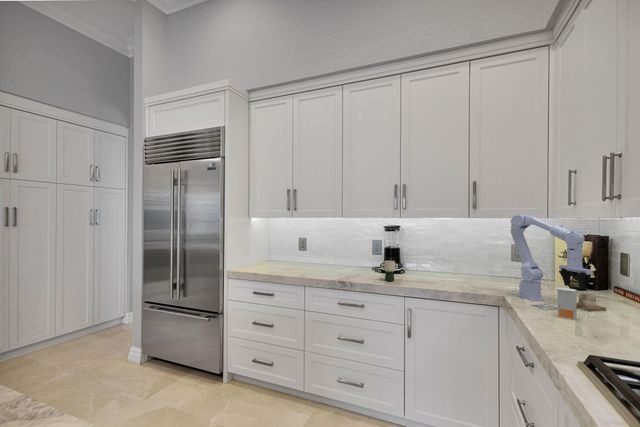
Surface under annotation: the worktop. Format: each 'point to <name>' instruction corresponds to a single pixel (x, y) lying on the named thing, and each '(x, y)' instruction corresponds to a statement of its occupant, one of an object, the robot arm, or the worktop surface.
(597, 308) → the walnut board
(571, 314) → the skincare box
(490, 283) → the worktop surface
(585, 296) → the birch block
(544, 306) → the slate tile
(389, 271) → the character mug
